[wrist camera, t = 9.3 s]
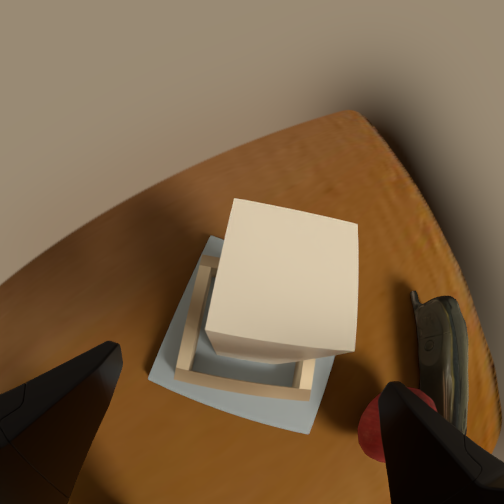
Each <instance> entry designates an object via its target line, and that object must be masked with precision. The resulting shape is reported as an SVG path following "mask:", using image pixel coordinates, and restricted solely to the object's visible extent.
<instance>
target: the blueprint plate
mask: <svg viewBox="0 0 504 504" xmlns="http://www.w3.org/2000/svg"><path fill="white" fill-rule="evenodd" d="M223 244H224V240H222V239H220V238H217V237H214V236H210V238H209V240H208V242H207V244H206V246H205V248H204V250H203V252H202V254H203V255H208V256H214V257H219V258H220V257H221V253H222V248H223ZM202 254H201V257H202ZM201 257H200V259H199V261H198V263H197V265H196V267H195V270H194V272H193V274H192V276H191V278H190V280H189V283H188V285H187V287H186V289H185V292H184V294H183V296H182V298H181V301H180V303H179V305H178V307H177V310H176V312H175V314H174V317H173V319H172V321H171V324H170V326H169V328H168V331H167V333H166V335H165V338H164V340H163V342H162V345H161V347H160V350H159V352H158V355H157V357H156V359H155V362H154V364H153V367H152V369H151V372H150V374H149V377H148V380H150V381H152V382H154V383H157V384H159V385H161V386H163V387H165V388H167V389H170V390H172V391H174V392H176V393H179V394H181V395H183V396H186V397H188V398H191V399H193V400H196V401H198V402H201V403H203V404H206V405H209V406H211V407H214V408H217V409H220V410H222V411H225V412H228V413H231V414H234V415H237V416H240V417H243V418H247V419H250V420H253V421H257V422H260V423H264V424H267V425H271V426H275V427H278V428H282V429H286V430H291V431H295V432H299V433H304V434H309V433H310V430H311V427H312V425H313V422H314V419H315V416H316V414H317V411H318V408H319V405H320V402H321V399H322V396H323V393H324V390H325V387H326V384H327V381H328V378H329V374H330V371H331V368H332V364H333V361H334V357H335V355H334V356H328V357H322V358H316V360H315V367H314V374H313V381H312V388H311V394H310V400H309V401H297V400H287V399H277V398H269V397H261V396H254V395H247V394H241V393H235V392H229V391H224V390H218V389H213V388H208V387H204V386H199V385H194V384H190V383H186V382H182V381H178V380H174V375H175V370H176V365H177V360H178V355H179V350H180V346H181V341H182V336H183V332H184V327H185V323H186V319H187V314H188V310H189V306H190V301H191V297H192V293H193V289H194V285H195V281H196V277H197V273H198V269H199V265H200V261H201ZM215 280H216V278H215V277H212V279H211V284H210V288H209V292H208V297H207V301H206V306H205V310H204V315H203V320H202V324H201V329H200V334H199V338H198V343H197V348H196V353H195V358H194V363H193V368H192V371H197V372H201V373H206V374H211V375H216V376H221V377H226V378H232V379H237V380H243V381H249V382H256V383H263V384H270V385H278V386H287V387H292V383H293V376H294V370H295V363H296V362H290V363H282V364H267V363H260V362H253V361H247V360H241V359H235V358H230V357H224V356H219V355H217V354H216V352H215V350H214V348H213V346H212V344H211V342H210V340H209V338H208V335H207V333H206V331H205V327H206V322H207V317H208V312H209V307H210V303H211V298H212V293H213V289H214V284H215Z"/></svg>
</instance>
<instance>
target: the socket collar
mask: <svg viewBox="0 0 504 504" xmlns="http://www.w3.org/2000/svg"><path fill="white" fill-rule="evenodd" d="M219 261H220V258H219V257H214V256H208V255H203V254H202V257H201V261H200V265H199V269H198V273H197V277H196V281H195V285H194V289H193V293H192V297H191V301H190V306H189V310H188V314H187V319H186V323H185V327H184V332H183V336H182V341H181V346H180V350H179V355H178V360H177V365H176V370H175V375H174V380H178V381H182V382H186V383H190V384H194V385H199V386H204V387H208V388H213V389H218V390H224V391H229V392H235V393H241V394H247V395H254V396H261V397H269V398H277V399H287V400H297V401H309V400H310V394H311V388H312V381H313V374H314V367H315V360H316V359H310V360H304V361H297V362H296V363H295V370H294V376H293V383H292V387H287V386H278V385H270V384H263V383H256V382H249V381H243V380H237V379H232V378H226V377H221V376H216V375H211V374H206V373H201V372H197V371H192V368H193V363H194V358H195V353H196V348H197V343H198V338H199V334H200V329H201V324H202V320H203V315H204V310H205V306H206V301H207V297H208V292H209V288H210V284H211V279H212V277H215V278H216V275H217V270H218V266H219Z"/></svg>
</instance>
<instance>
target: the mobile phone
mask: <svg viewBox="0 0 504 504" xmlns="http://www.w3.org/2000/svg"><path fill="white" fill-rule="evenodd" d="M410 294H411V299H412V303H413V308H414V313H415V319H416V325H417V336H418V356H419V368H420V390H421V391H422V392H424V393H425V394H426V395H427V396H429V397H430V398H431V399H432V400H433V402H434V404H435V406H436V409H437V412H438V413H439V414H440V415H441V416H442V417H444V418H445V419H446V420H447V421H449V422H450V423H451V424H452V425H453V426H455V427H456V428H457V429H458V430H460V431H461V432H462V433H463V435H466V431H467V408H468V334H467V327H466V323H465V320H464V318H463V316H462V314H461V311H460V308H459V304H458V302H457V301H456V299H454V298H453V297H451V296H440V297H436V298H433V299H431V300H429V301H428V302H426V303H424V304H421V303H420V302H419V300H418V295H417V292H416V291H412V292H411V293H410Z"/></svg>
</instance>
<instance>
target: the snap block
mask: <svg viewBox="0 0 504 504" xmlns="http://www.w3.org/2000/svg"><path fill="white" fill-rule="evenodd" d="M357 306H358V224H355V223H351V222H347V221H342V220H338V219H334V218H329V217H325V216H321V215H316V214H312V213H307V212H302V211H298V210H293V209H288V208H283V207H278V206H273V205H268V204H263V203H258V202H253V201H247V200H242V199H236V198H234V202H233V206H232V210H231V214H230V218H229V222H228V227H227V231H226V235H225V239H224V244H223V248H222V253H221V257H220V261H219V266H218V270H217V275H216V280H215V284H214V289H213V293H212V298H211V303H210V307H209V312H208V317H207V322H206V327H205V331H206V333H207V335H208V338H209V340H210V342H211V344H212V346H213V348H214V350H215V352H216V354H217V355H219V356H224V357H230V358H235V359H241V360H247V361H253V362H260V363H267V364H282V363H290V362H297V361H304V360H310V359H316V358H322V357H328V356H334V355H339V354H344V353H349V352H354V351H355V340H356V325H357Z"/></svg>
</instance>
